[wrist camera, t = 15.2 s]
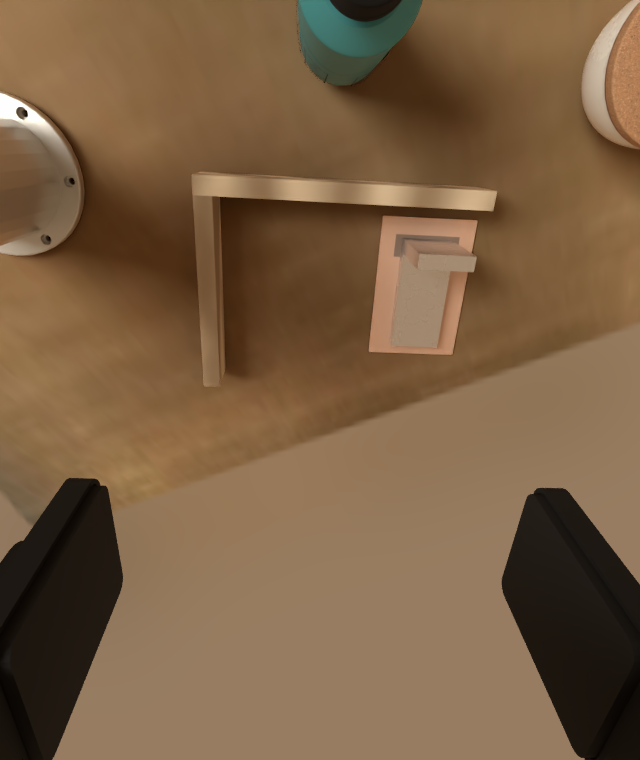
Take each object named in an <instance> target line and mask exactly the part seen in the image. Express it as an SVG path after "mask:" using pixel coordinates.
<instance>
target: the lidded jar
mask: <svg viewBox="0 0 640 760" xmlns="http://www.w3.org/2000/svg"><path fill="white" fill-rule="evenodd" d="M581 99H582V104H583V108H584V111H585V114H586V116H587V118H588V120H589V121H590V123H591V125H592V126H593V127H594V128H595V129H596V131H597V132H598V133H599V134H601V135H602V136H603V137H605V138H606V139H608V140H610V141H612V142H614V143H616V144H618V145H621V146H625V147H629V148H633V149H640V0H632V1H630V2H629V3H628V4H627V5H626V6H625V7H623V8H622V9H621V10H620V11H619V12H618V13H617V14H616V15H615V16H614V17H613V18H612V19H611V20H610V21H609V22H608V24H607V25H606V26H605V27H604V28H603V30H602V32H601V33H600V35H599V36H598V38H597V39H596V41H595V42H594V44H593V46H592V48H591V50H590V52H589V54H588V57H587V60H586V63H585V65H584V70H583V74H582V81H581Z"/></svg>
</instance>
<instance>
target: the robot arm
mask: <svg viewBox="0 0 640 760" xmlns="http://www.w3.org/2000/svg"><path fill="white" fill-rule="evenodd" d="M26 110H27V112H28V117H27V116H26V115H25V111H26ZM72 178H73V179H74V181H75V184H73V183H72V182H71V179H72ZM84 195H85V191H84V182H83V175H82V172H81V168H80V165H79V162H78V159H77V157H76V155H75V153H74V151H73V149H72V147H71V145H70V143H69V142H68V140H67V139H66V137H65V136H64V135H63V133H62V132H61V130H60V129H59V128H58V127H57V126H56V125H55V124H54V123H53V122H52V121H51V119H50V118H49V117H47V116H46V115H45V114H44V113H42V112H41V111H40V110H39V109H37V108H36V107H35V106H33V105H31V104H30V103H28V102H26V101H25V100H23V99H21V98H19V97H16V96H14V95H11V94H8V93H6V92H3V91H0V253H1V254H7V255H14V256H27V255H35V254H38V253H42V252H45V251H48V250H50V249H52V248H54V247H56V246H57V245H59V244H60V243H62V242H63V241H65V240H66V239H67V238H68V237H69V235H70V234H71V233H72V232H73V231H74V229H75V227H76V226H77V224H78V222H79V220H80V217H81V214H82V210H83V207H84ZM48 236H49V237H50V238H51V240H49V238H48ZM122 582H123V573H122V567H121V562H120V556H119V550H118V544H117V539H116V533H115V527H114V521H113V516H112V510H111V504H110V498H109V493H108V489H107V487H106V486H100V483H99V481H98V480H97V479H84V478H69V479H67V480H66V481H65V482H64V483H63V485H62V486H61V488H60V489H59V491H58V492H57V493H56V495H55V496H54V498H53V499H52V501H51V502H50V503H49V505H48V506H47V508H46V509H45V511H44V512H43V514H42V515H41V516H40V518H39V519H38V521H37V522H36V524H35V525H34V526H33V528H32V529H31V531H30V532H29V534H28V535H27V536H26V538H25V540H24V541H20V542H18V543H16V544H15V545H14V546H13V547H12V548H11V549H10V550H9V552H8V553H7V554H6V556H5V557H4V559H3V560H2V561H1V563H0V760H52V759H53V757H54V755H55V753H56V751H57V748H58V746H59V743H60V741H61V738H62V736H63V733H64V731H65V728H66V726H67V723H68V721H69V718H70V716H71V713H72V711H73V708H74V706H75V704H76V701H77V698H78V696H79V694H80V691H81V688H82V686H83V684H84V681H85V679H86V676H87V674H88V671H89V669H90V666H91V664H92V661H93V659H94V656H95V654H96V651H97V649H98V646H99V644H100V641H101V639H102V636H103V634H104V631H105V629H106V626H107V624H108V621H109V619H110V616H111V614H112V612H113V609H114V606H115V604H116V601H117V599H118V597H119V594H120V591H121V588H122ZM502 589H503V593H504V596H505V599H506V601H507V603H508V605H509V608H510V610H511V612H512V614H513V616H514V619H515V621H516V623H517V625H518V627H519V630H520V632H521V634H522V636H523V639H524V641H525V643H526V645H527V648H528V650H529V652H530V654H531V656H532V659H533V661H534V663H535V665H536V668H537V670H538V672H539V674H540V676H541V679H542V681H543V683H544V686H545V688H546V690H547V692H548V694H549V697H550V698H551V701H552V703H553V705H554V708H555V710H556V712H557V714H558V717H559V719H560V721H561V723H562V726H563V728H564V730H565V732H566V734H567V737H568V739H569V741H570V743H571V746H572V748H573V749H574V751H575V752H576V754H577V755H578V756H579V757H581V758H585V760H640V584H639V583H638V582H637V580H636V579H635V578H634V577H633V575H632V574H631V573H630V571H629V570H628V569H627V567H626V566H625V565H624V564H623V562H622V561H621V560H620V558H619V557H618V556H617V554H616V553H615V552H614V551H613V549H612V548H611V547H610V545H609V544H608V543H607V542H606V541H605V539H604V538H603V536H602V535H601V534H600V532H599V531H598V530H597V528H596V527H595V526H594V525H593V523H592V522H591V521H590V519H589V518H588V517H587V515H586V514H585V513H584V511H583V510H582V509H581V507H580V506H579V505H578V504H577V502H576V501H575V500H574V498H573V497H572V496H571V495H570V493H569V492H568V491H567V490H566V489H563V488H538V489H536V490H535V492H534V494H530V495H528V497H527V499H526V502H525V505H524V508H523V512H522V515H521V518H520V521H519V525H518V528H517V531H516V534H515V538H514V541H513V544H512V548H511V551H510V554H509V557H508V561H507V564H506V568H505V570H504V574H503V577H502Z"/></svg>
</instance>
